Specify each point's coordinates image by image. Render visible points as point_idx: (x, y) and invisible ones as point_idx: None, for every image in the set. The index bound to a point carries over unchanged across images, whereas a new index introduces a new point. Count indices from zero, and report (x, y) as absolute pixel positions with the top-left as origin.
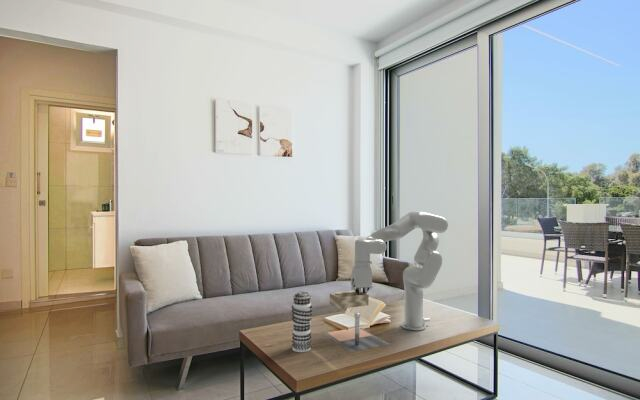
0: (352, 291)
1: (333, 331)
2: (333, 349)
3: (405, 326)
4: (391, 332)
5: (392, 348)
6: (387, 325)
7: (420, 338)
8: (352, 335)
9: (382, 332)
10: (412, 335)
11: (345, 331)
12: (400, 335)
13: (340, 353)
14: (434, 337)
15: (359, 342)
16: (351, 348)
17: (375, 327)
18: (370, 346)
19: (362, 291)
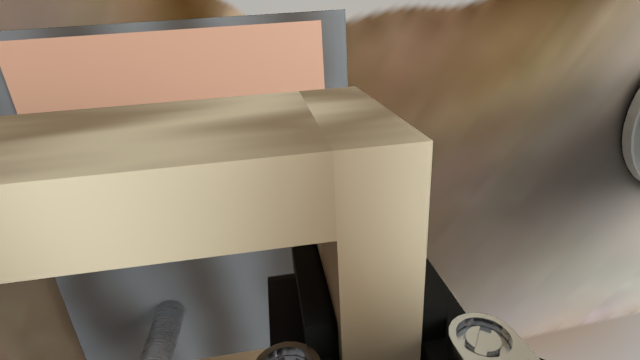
0: (195, 212)
1: (65, 38)
2: (11, 301)
3: (638, 133)
4: (501, 158)
5: None
6: (583, 15)
7: (563, 284)
8: None
9: (450, 139)
10: (565, 238)
11: (175, 77)
12: (509, 219)
13: (45, 353)
14: (630, 290)
15: (199, 287)
16: (116, 348)
17: (475, 22)
18: (237, 346)
19: (451, 345)
